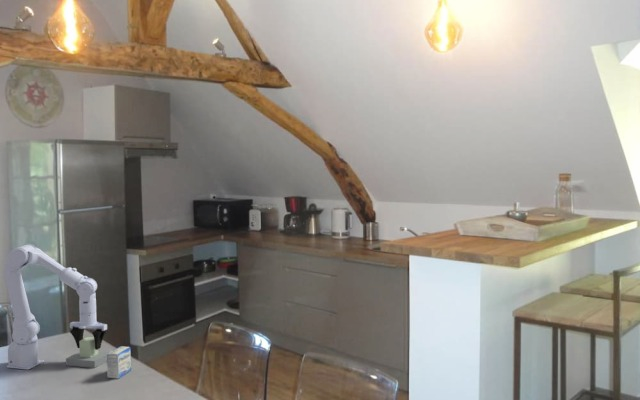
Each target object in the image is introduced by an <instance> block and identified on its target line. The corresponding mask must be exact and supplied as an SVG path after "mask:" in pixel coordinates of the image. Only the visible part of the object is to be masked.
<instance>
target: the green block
mask: <svg viewBox="0 0 640 400" xmlns="http://www.w3.org/2000/svg"><path fill="white" fill-rule="evenodd" d="M79 345H80V348H79V352H80V357H87V358H91V357H93V356H95V355H97V354H98V351H99V349H98V350H96V349H95V340H94V336H92V337H91V336H89V337H88V336H87V337H85V338H84V337H83V339H82V340H80V341H79Z"/></svg>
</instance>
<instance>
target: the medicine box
mask: <svg viewBox="0 0 640 400" xmlns="http://www.w3.org/2000/svg"><path fill="white" fill-rule="evenodd" d="M109 352H110V353H108V354H107V361H106V372H107V373H106V374H107V375H106V376H107V378H108V379H116V380H118V379H121V378H122V377H124V376H125V375H126V374H127V373H129V372H130V371H132V360H131V359H132V357H131V355H132V354H131V353H132V352H131V347H130V346H123V345H122V346H118V347H117V348H115V349H113V350H112V351H109Z"/></svg>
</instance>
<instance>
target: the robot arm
mask: <svg viewBox="0 0 640 400" xmlns="http://www.w3.org/2000/svg"><path fill="white" fill-rule="evenodd" d="M4 263H5V264H4V266H3V269H2V273H3V277H4V281H5V285H6V290H7V293H8V298H9V301H10V305H11V309H12V315H13V317H14V319H13V322H12V334H11V338H12V340H13V341H12V342H10V343H9V345H8V348H7V359H8V360H7V363H8V365H7V366H6V368H8V369H9V368H11V369H19V370H20V369H21V370H30V369H32V368H34V367H37V366H39V365H41V364H43V363H45V360H43V359H42V360H41V359H39V338H38V334H39V332H40V330H41V326H40V324H39V322H38V321H37V320H36V317H35V315H34V314H33V313H32V312H31V309H30V304H29V300H28V295H27V293H26V289H25V285H24V283H25V282H24V280H23V276H22V271H23V269H24V268H25V267H26V266H27V265H40V266H41V267H43V268H44V269H47V270H48V271H50V272H52V273H54V274H56V275H58V277H59V281H60V282H62V283H64V284H65V285H67V286H69V287H70V288H71V289H73V290H76V293H77V295H78V297H79V301H78V303H79V304H78V305H79V321H72V322H70V323H69V328H70V329H71V330H70V331H69V332H70V334H71V336H72V337H73V339H74V341H75V344H76V347H77V349H80V345H79V341H80V340H82V339H84V334H85V333H84V332H85V330H94V331H92V333H91V334H92V337H93V338H94V340H95V349H96V350H98V351H99V349H101V347H102V343H103V339H104V336H105V335H106V332H107V331H108V324H107V323H102V322H99V321H97V299H96V297H97V296H96V295H97V294H96V291H97V289H98V283H97V281H96V280H95V279H94V278H91V277H88V276H87V275H83V274H82V273H80V272H78V271H77V270H78V269H77V268H76V267H73V268H72V267H71V266H70V267H65V266H64V265H62V264H60V262H58V261H56V260H55V259H54V258H52V257H51V256H49V255H47V254H46V252H44V251H43V250H42V249H40V248H39V247H36V246H35V245H34V244H32V243H26V244H23V245H21V246H17V247H14V248H12V249H11V250H10V251H9V252H8V254H6V260H5V262H4Z"/></svg>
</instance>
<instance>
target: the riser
mask: <svg viewBox="0 0 640 400" xmlns="http://www.w3.org/2000/svg"><path fill="white" fill-rule="evenodd" d="M110 352H111V351H107V350H98V354H97V355H95V356H93V357H91V358H87V357H80V351H78V352H76V353H74V354H72V355H71V356H69V357H66V358H65V365H66V366H67V367H68V366H70V367H81V368H91V369H96V368H97V367H99V366H101V365H103V364H104V363H107V354H108V353H110Z"/></svg>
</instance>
